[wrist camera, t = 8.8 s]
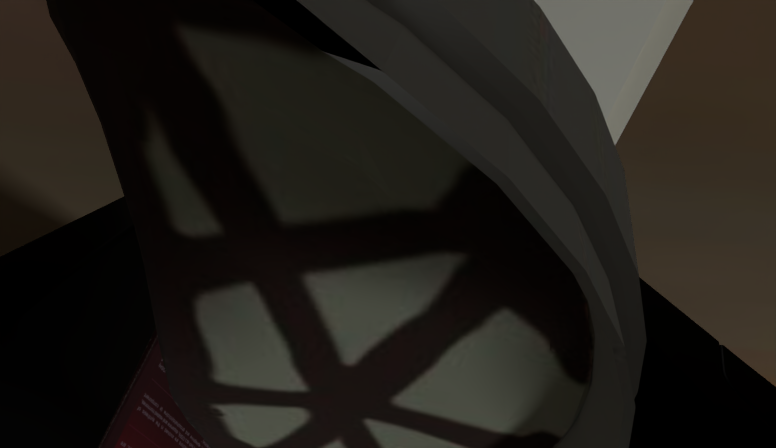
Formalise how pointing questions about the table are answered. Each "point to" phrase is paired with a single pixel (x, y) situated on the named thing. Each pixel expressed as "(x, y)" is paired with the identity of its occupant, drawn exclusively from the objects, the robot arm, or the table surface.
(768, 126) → the table surface
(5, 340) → the robot arm
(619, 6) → the white square tray
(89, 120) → the table surface
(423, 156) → the food container
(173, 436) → the supplement box
